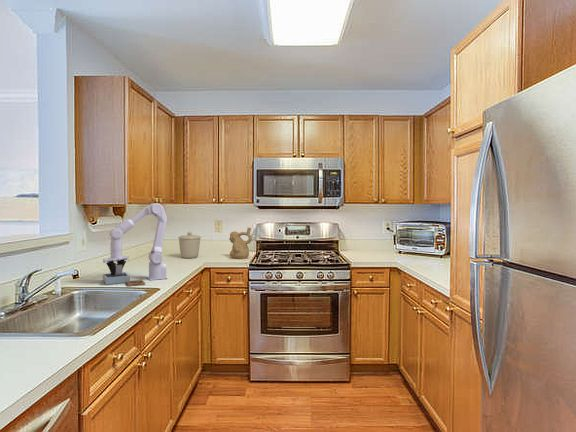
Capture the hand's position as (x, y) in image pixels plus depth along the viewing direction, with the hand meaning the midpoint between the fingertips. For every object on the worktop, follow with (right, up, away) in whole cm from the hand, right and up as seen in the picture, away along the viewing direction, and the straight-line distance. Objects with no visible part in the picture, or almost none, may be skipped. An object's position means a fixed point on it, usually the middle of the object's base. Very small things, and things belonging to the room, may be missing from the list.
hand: (116, 274), depth 211 cm
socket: (+13, -5, -5) cm, 14 cm away
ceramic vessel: (+57, -2, +96) cm, 112 cm away
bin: (0, -4, 0) cm, 4 cm away
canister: (+16, -1, +95) cm, 96 cm away
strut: (0, -3, 0) cm, 3 cm away
